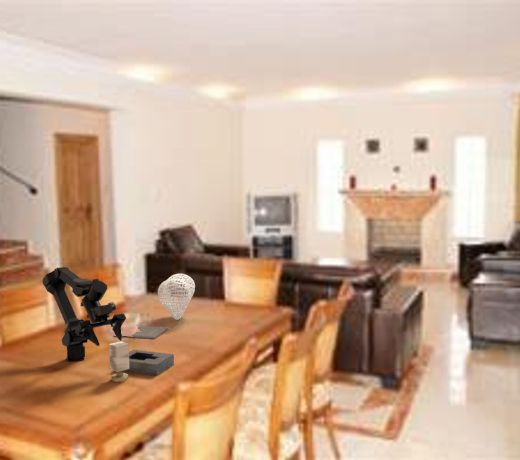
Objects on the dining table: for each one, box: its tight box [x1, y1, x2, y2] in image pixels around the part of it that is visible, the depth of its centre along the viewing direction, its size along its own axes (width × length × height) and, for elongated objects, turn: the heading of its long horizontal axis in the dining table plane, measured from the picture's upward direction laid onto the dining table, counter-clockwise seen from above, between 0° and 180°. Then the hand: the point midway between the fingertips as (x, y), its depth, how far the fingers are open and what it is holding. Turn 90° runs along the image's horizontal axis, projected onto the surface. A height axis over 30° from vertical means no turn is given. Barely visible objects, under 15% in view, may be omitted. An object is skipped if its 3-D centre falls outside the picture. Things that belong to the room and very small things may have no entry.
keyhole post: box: [108, 340, 130, 383], centre depth 212 cm, size 6×6×13 cm
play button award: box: [132, 325, 170, 340], centre depth 274 cm, size 16×2×20 cm
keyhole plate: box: [123, 349, 175, 376], centre depth 225 cm, size 18×13×4 cm
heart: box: [157, 273, 196, 321], centre depth 297 cm, size 28×16×22 cm, turn 175°
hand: (110, 342), depth 216 cm, fingers open, 9 cm apart
